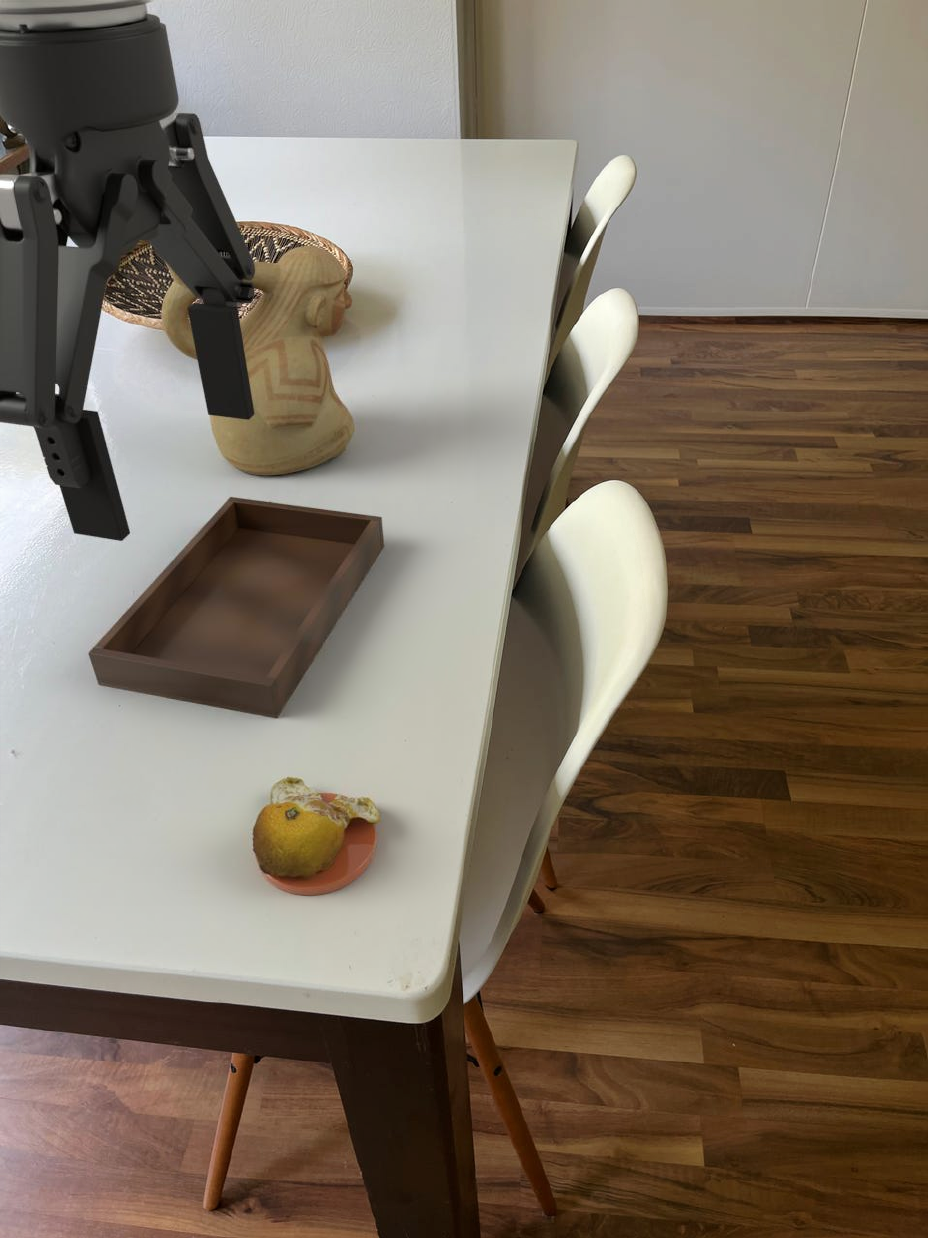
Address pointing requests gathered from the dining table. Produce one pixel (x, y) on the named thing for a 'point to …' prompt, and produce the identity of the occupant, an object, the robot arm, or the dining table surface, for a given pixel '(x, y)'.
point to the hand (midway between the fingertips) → (173, 469)
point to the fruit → (304, 829)
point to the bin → (242, 607)
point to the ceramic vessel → (281, 364)
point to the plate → (335, 860)
